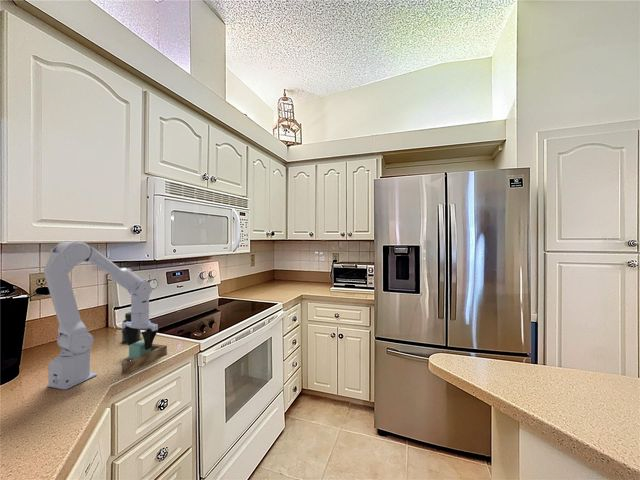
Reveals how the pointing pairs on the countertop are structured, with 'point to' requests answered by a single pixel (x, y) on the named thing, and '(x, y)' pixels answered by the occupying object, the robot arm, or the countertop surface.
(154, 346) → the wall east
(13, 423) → the countertop surface
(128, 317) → the supplement bottle
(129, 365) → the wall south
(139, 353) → the cube
